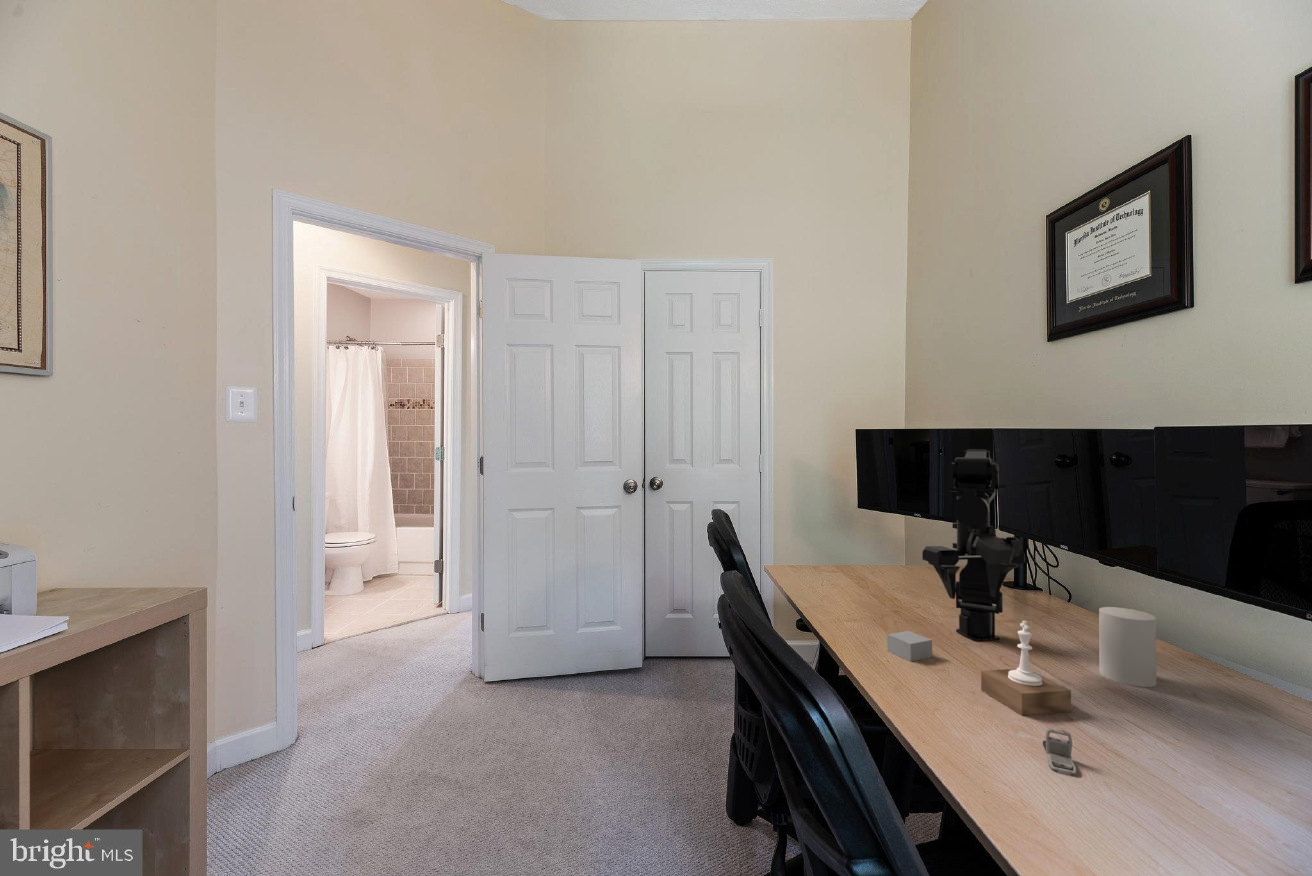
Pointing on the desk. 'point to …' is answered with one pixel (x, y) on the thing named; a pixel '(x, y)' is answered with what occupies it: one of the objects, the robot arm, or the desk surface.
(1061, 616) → the desk surface
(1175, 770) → the desk surface
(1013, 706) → the walnut block
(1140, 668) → the white cylinder
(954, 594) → the robot arm
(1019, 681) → the chess piece
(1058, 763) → the grey sandwich maker
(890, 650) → the slate block
